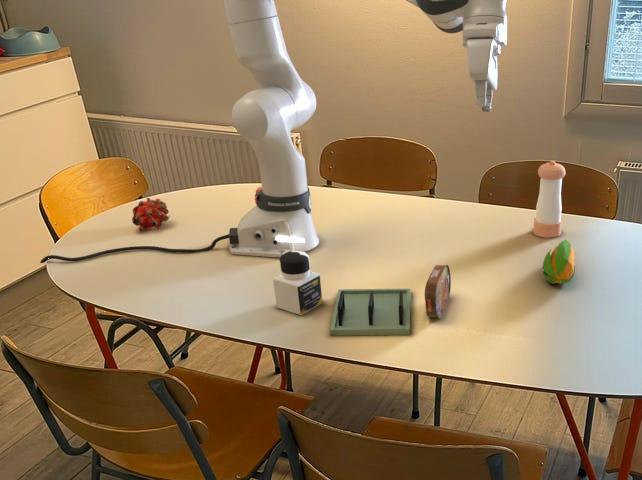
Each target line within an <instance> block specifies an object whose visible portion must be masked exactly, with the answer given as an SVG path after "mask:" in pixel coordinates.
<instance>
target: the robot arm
mask: <svg viewBox="0 0 642 480" xmlns="http://www.w3.org/2000/svg"><path fill="white" fill-rule="evenodd" d="M405 1H406V2H408V3H409V4H412V5H413V6H415V7H417V8H419V9H420V10H421V11H422V13H423V14H424V15H426V17H428V19H429V20H431V22H432V23H433V24H434V26H435V27H436V28H437V29H438V30H440V32H441V31H442V33H443V32H444V33H446V34H457V33H460V32H462V47H464V48H466V54H467V67H468V74H469V79H471V80H472V82H473V83H474V88H475V97H476V101H475V103H476V106H477V107H478V108H481V111H482V112H483V113H490V112H491V111H492V101H493V92H496V91H497V90H498V56H500V55H501V49H502V48H505V47H507V46H508V45H507V44H508V16H507V11H506V4H507V1H508V0H405ZM223 6H224V7H223V8H224V12H225V17H226V21H227V25H228V28H229V32H230V37H231V40H232V44H233V46H234V50H235V51H234V52H235V54H236V58H237V60H238V62H239V63H240V64H241V65H242V66H243V67H244V68H246V69H247V70H248V71H249V72H250V73H251V74H252V75H251V76H253V78H254V80H255V81H256V85H257V86H258V88H257V89H254V90H251V91H248V92H247V93H245V94H244V95H243V96H242V97H241V98H240V99H238V100H237V101H236V102H235V103H234V104H233V107H232V109H231V119H232V121H231V122H232V125H233V126H234V128H235V130H236V132H237V133H238V134H239V135H240V136H241V137H242V138H243V139H245V140H246V141H247V142H248V143H249V144H250V146H251V148H252V151H253V153H254V155H255V157H256V161H257V165H258V170H259V176H260V184H261V186H258V187H257V188H256V190H255V194H254V204H255V206H254V207H253V208H251V209H250V210H249V211H248V212H247V213H246V214H245V215H243V216H242V217H241V218H240V220H239V221H238V224H237V227H230V228H229V232H228V234H224V235H222V236H218V237H217V238H215V239H214V240H212V242H211V244H210V245H209V246H207V247H204V248H197V249H195V248H193V249H187V248H167V247H162V246H155V245H138V246H137V245H136V246H135V245H134V246H128V247H127V246H125V247H118V248H111V249H106V250H101V251H99V252H94V253H91V254H88V255H84V256H77V257H66V256H62V255H56V254H55V255H54V254H51V255H50V254H49V255H46V256H44V257H43V258H42V259H41V260H40V261H39V263H40V264H45V263H46V262H47V261H48V260H58V261H65V262H79V261H81V262H82V261H85V260H90V259H93V258H97V257H101V256H104V255H108V254H113V253H119V252H126V251H139V250H142V251H143V250H146V251H147V250H150V251H160V252H165V253H178V254H179V253H183V254H185V253H186V254H194V253H195V254H196V253H202V252H208V251H211V250H213V249H214V248H215V246H216V244H217V243H219V242H220V241H224V240H226V239H228V241H229V244H228V246H229V247H228V248H229V252H230V253H231V254H232V255H239V256H250V257H251V256H252V257H266V258H279V259H280V257H281V256H282V255H283V254H284V253H287V252H290V251H301V252H305V253H306V252H308V251H311V250H312V249H315V248H316V247H317V246H318V245H319V244H320V238H319V236H318V234H317V230H316V228H315V224H314V220H313V216H312V208H313V205H312V195H311V190H310V187H309V186H308V178H307V170H306V169H307V167H306V159H305V156H304V155H303V154H302V152H300V151H298V150H297V149H296V147H295V145H294V142H293V139H292V135H291V134H292V133H291V132H292V130H294V129H297V128H299V127H301V126H303V125H305V123H307V122H308V121H309V120H310V119H311V118H312V117H313V115H314V114H315V112H316V110H317V97H316V95H315V92H314V90H313V89H312V87H311V86H310V85H309V84H308V83H306V82H305V81H304V80H303V79H302V78H301V77H300V75H299V73H298V70H297V69H296V68H295V66H294V64H293V62H292V60H291V58H290V55H289V53H288V49H287V47H286V46H287V45H286V43H285V39H284V35H283V32H282V27H281V23H280V19H279V16H278V11H277V7H276V3H275V0H223ZM48 258H49V259H48Z"/></svg>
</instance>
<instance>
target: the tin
mask: <svg viewBox="0 0 642 480" xmlns="http://www.w3.org/2000/svg"><path fill="white" fill-rule="evenodd" d="M450 270H451V269H450V266H449V265H448V264H436V265H435V266H434V267H433V269H432V271H431V273H430V274H429V277H428V278H427V280H426V283H425V288H424V302H425V314H426V316H427V317H428V318H438V319H441V318H442V316H443V314H444V312H445V310H446V307H447V305H448V303H449V301H450V295H451V289H452V288H451V287H452V286H451V285H452V282H451V279H452V278H451V271H450Z"/></svg>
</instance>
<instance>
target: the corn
mask: <svg viewBox="0 0 642 480" xmlns="http://www.w3.org/2000/svg"><path fill="white" fill-rule="evenodd" d="M551 251H552V249H549V251H548V252H547V253H546V255H545V257H544V258H543V262H542V271H543V272H542V273H543V275H544V278H545V280H546V281H547V282H548V283H550V284H551V285H554V284H558V285H559V286H562V285H564V284H567V283H568V282H570V280H572V278H574V275H575V272H576V271H575V269H576V268H575V259H576V253H575V250H574V249H573V246H572V244H571V243H570V241H569V240H568V239H563V240H561V241H560V242H559V244H558V245H557V246H556V247H555V248H554V249H553V251H552V252H551Z"/></svg>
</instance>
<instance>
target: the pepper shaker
mask: <svg viewBox="0 0 642 480" xmlns="http://www.w3.org/2000/svg"><path fill="white" fill-rule="evenodd" d="M537 175H538V176H539V177H540V181H539V193H538V197H537V202H536V205H535V206H536V207H535V218H534V219H533V235H535V236H537V237H541V238H546V239H547V238H550V239H551V238H556V237H558V236H560V235H561V234H562V226H563V225H562V222H563V221H562V219H561V218H562V210H563V208H562V194H561V193H562V184H563V183H562V182H563V179H564V178H565V176H566V168H565V167H564V166H563V165H562V164H560V163H556V161H554V160H550V161H549V162H546V163H543V164H541V165H540V166H539V167H538V170H537Z"/></svg>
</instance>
